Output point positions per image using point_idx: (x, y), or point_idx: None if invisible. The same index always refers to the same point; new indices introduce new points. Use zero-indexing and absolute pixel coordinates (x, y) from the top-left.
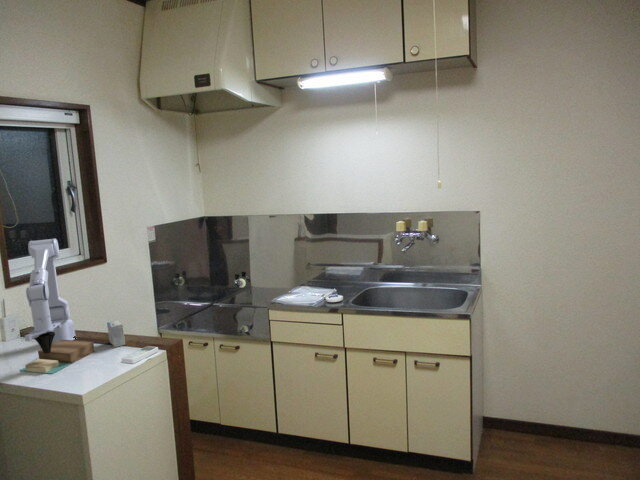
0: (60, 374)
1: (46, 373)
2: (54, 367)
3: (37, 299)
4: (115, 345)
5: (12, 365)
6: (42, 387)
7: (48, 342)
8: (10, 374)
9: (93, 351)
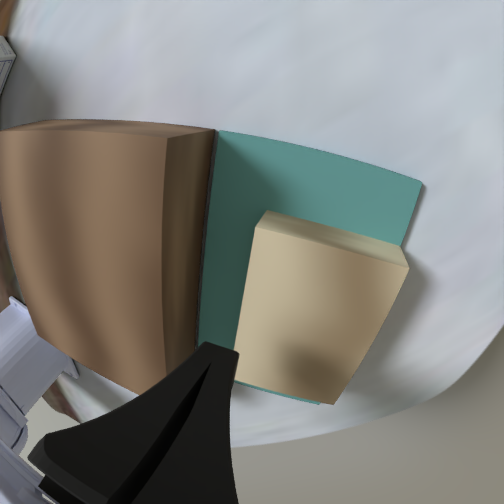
0: (430, 107)
1: (399, 239)
2: (312, 224)
3: None
4: (8, 53)
5: (251, 432)
6: None
7: (185, 438)
8: (356, 414)
9: (47, 120)
